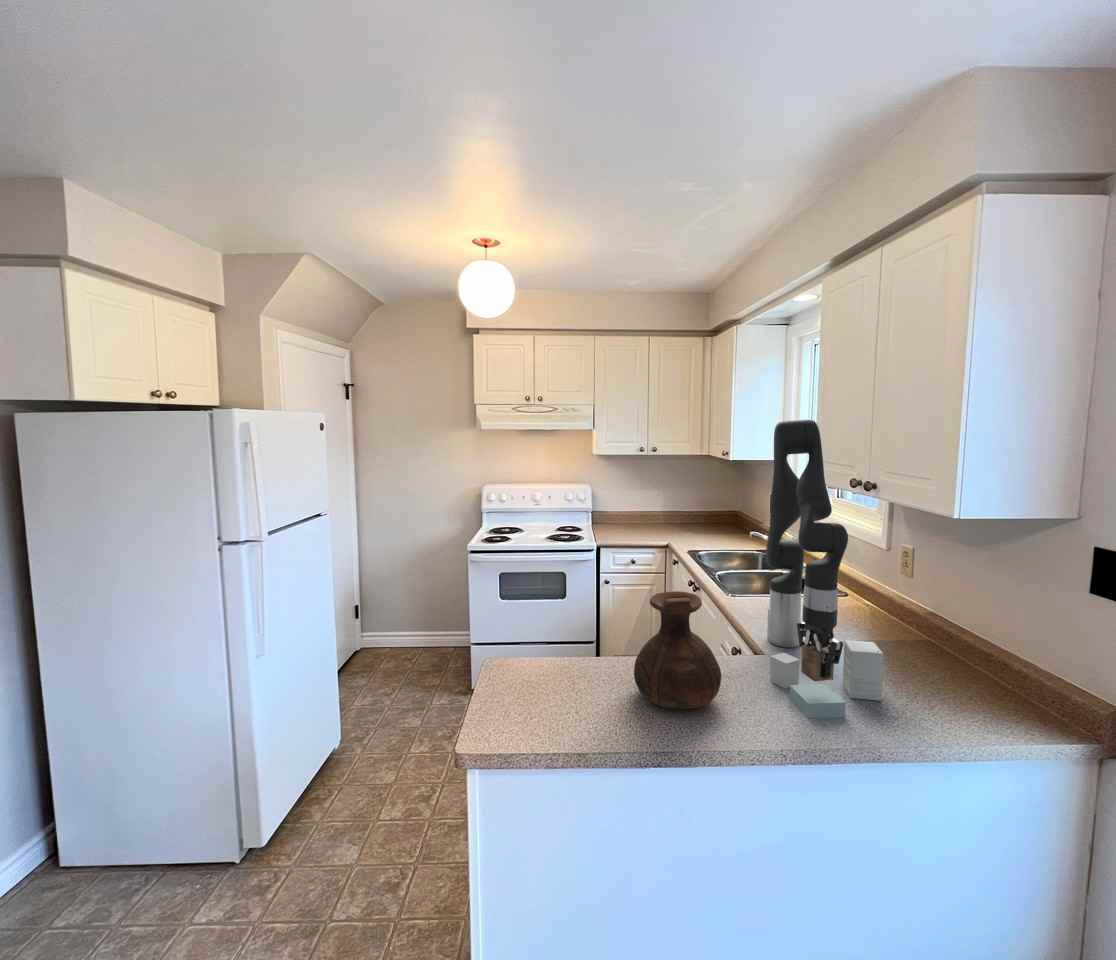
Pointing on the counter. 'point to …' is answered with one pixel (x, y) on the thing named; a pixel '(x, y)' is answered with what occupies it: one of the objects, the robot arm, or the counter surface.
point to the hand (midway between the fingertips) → (817, 672)
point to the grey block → (784, 670)
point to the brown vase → (677, 657)
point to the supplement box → (862, 670)
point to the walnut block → (813, 663)
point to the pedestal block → (817, 701)
